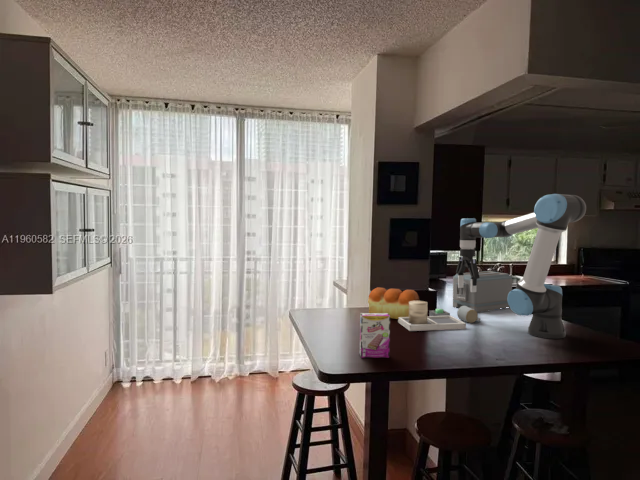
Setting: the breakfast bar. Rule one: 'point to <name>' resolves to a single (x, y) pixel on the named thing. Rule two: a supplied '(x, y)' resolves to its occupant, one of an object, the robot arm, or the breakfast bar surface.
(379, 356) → the candy bar box
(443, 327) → the white divided tray
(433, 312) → the button housing
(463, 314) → the ceramic mug
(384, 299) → the bread
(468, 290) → the toaster
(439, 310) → the button
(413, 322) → the cylinder
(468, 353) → the breakfast bar surface
